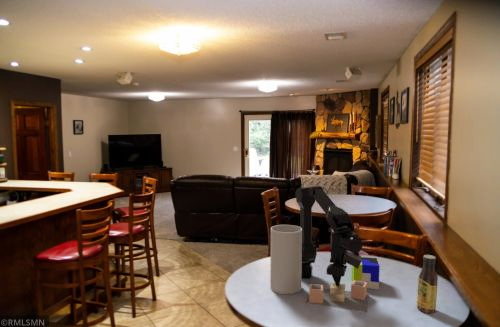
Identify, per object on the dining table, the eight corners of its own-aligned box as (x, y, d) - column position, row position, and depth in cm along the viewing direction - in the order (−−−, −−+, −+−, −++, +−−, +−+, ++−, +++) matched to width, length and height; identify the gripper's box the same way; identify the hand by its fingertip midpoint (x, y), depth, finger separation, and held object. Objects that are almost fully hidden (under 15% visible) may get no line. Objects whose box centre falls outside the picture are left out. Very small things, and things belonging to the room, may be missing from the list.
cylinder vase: (303, 285, 158) (304, 226, 156) (297, 297, 146) (298, 233, 144) (275, 281, 162) (275, 223, 160) (266, 292, 150) (266, 231, 148)
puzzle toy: (378, 290, 153) (379, 266, 152) (353, 288, 155) (353, 264, 154) (375, 280, 163) (376, 258, 162) (351, 278, 165) (352, 256, 164)
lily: (370, 267, 181) (372, 248, 185) (350, 260, 178) (353, 240, 181) (353, 267, 192) (356, 249, 195) (335, 261, 188) (338, 242, 192)
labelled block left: (309, 302, 141) (309, 288, 140) (309, 296, 146) (309, 283, 145) (322, 303, 140) (323, 289, 140) (322, 297, 145) (322, 284, 145)
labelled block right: (350, 297, 145) (351, 284, 145) (353, 292, 150) (354, 279, 149) (364, 300, 143) (364, 286, 143) (366, 295, 147) (367, 282, 147)
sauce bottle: (413, 306, 139) (415, 253, 137) (429, 305, 139) (431, 252, 138) (422, 314, 132) (425, 259, 131) (440, 314, 133) (442, 258, 131)
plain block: (330, 300, 143) (330, 287, 142) (331, 295, 147) (332, 282, 147) (343, 302, 141) (343, 289, 141) (344, 296, 146) (345, 284, 145)
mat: (305, 303, 141) (305, 302, 141) (312, 287, 156) (312, 286, 156) (366, 313, 133) (366, 311, 133) (368, 294, 148) (368, 293, 148)
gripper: (359, 255, 131) (358, 299, 132) (362, 240, 149) (361, 279, 150) (326, 251, 135) (325, 294, 136) (333, 238, 152) (332, 275, 154)
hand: (337, 285), depth 144 cm, fingers closed
